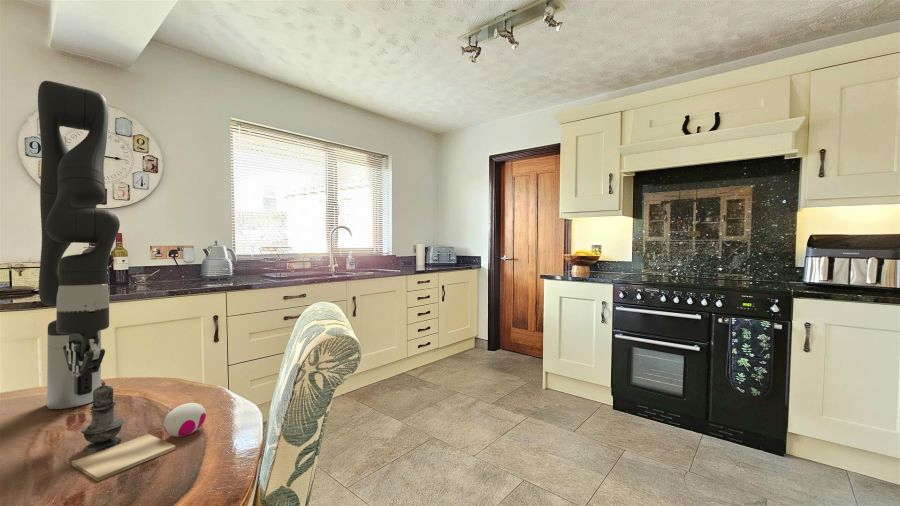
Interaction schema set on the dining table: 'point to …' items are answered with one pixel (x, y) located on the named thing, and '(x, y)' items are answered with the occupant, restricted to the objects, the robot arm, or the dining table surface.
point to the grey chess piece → (102, 421)
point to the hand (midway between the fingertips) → (83, 393)
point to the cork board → (122, 456)
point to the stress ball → (184, 419)
